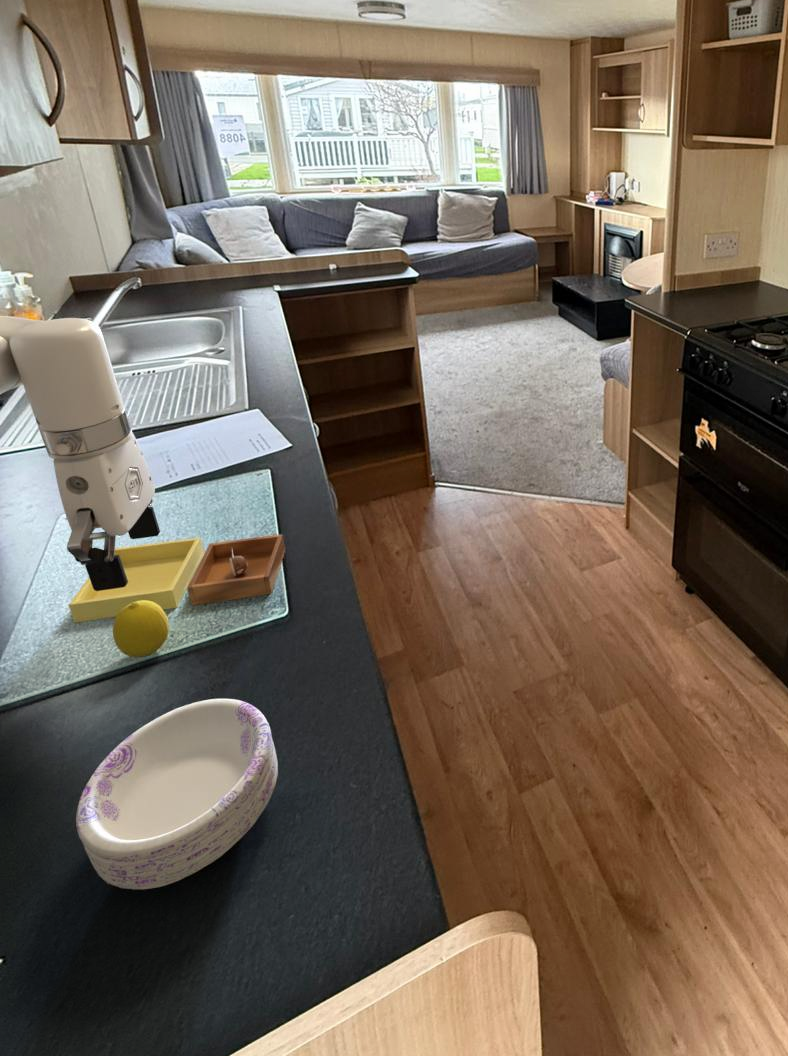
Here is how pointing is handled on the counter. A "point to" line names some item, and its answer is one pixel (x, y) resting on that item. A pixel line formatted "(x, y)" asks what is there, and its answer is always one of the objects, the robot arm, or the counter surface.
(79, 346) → the robot arm
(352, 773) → the counter surface
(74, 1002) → the counter surface
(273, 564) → the brown bin
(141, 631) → the lemon
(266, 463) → the counter surface
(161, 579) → the yellow bin
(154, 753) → the paper bowls
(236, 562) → the chocolate
